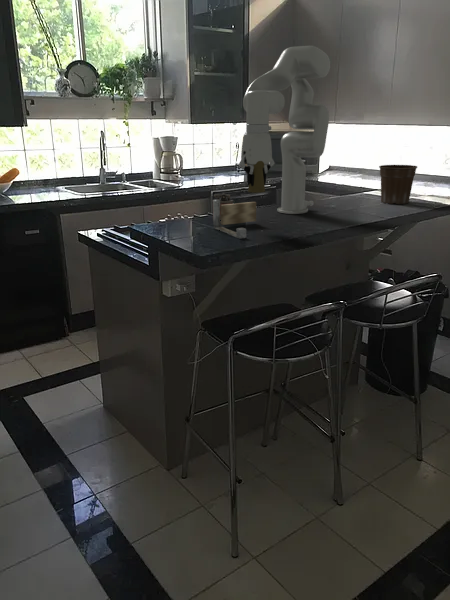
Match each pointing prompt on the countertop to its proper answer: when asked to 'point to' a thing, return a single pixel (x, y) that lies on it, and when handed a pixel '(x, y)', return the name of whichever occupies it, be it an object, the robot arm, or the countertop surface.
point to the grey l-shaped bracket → (239, 232)
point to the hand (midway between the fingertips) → (256, 184)
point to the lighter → (223, 200)
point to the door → (238, 213)
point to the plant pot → (396, 183)
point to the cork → (257, 178)
